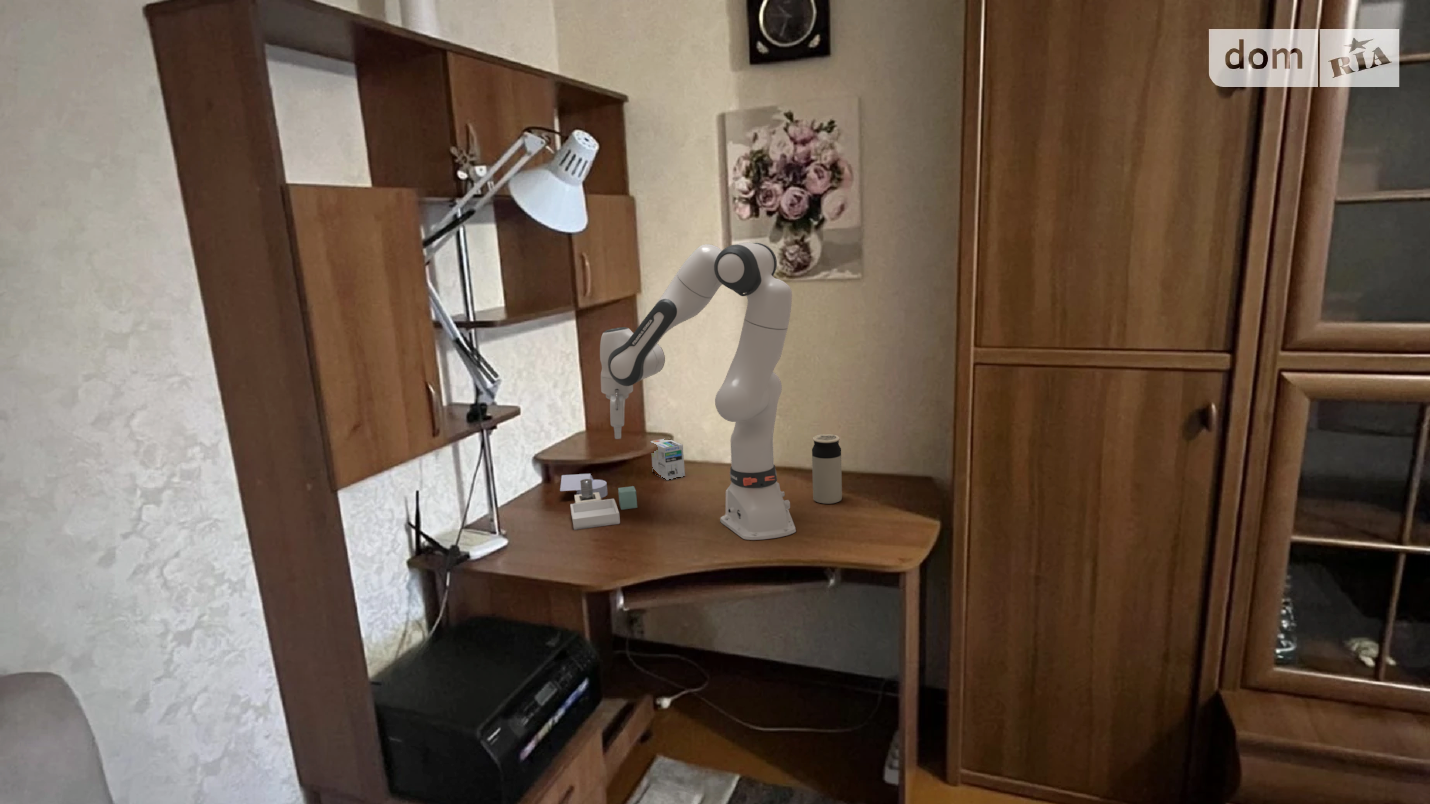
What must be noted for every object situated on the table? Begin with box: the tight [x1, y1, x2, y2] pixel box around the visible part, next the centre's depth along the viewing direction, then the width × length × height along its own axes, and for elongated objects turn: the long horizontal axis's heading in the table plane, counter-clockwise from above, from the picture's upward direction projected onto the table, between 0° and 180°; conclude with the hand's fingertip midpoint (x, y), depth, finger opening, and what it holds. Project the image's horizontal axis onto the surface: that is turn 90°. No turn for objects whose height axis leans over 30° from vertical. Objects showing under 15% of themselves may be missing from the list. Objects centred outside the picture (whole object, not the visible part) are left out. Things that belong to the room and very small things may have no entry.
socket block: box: [574, 492, 602, 504], centre depth 220 cm, size 7×7×3 cm
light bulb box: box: [649, 438, 686, 481], centre depth 246 cm, size 11×7×11 cm, turn 30°
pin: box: [580, 479, 593, 501], centre depth 220 cm, size 3×3×8 cm
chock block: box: [617, 485, 638, 511], centre depth 220 cm, size 4×4×5 cm
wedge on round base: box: [559, 473, 608, 499], centre depth 231 cm, size 9×7×13 cm
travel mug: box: [811, 433, 843, 505], centre depth 215 cm, size 8×8×18 cm
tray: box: [569, 498, 621, 531], centre depth 211 cm, size 12×12×3 cm
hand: (618, 433), depth 218 cm, fingers open, 8 cm apart
